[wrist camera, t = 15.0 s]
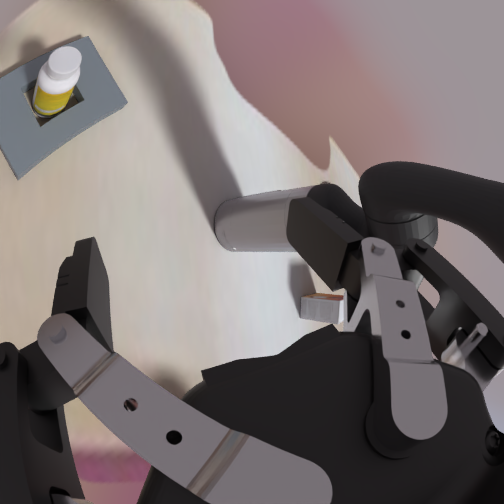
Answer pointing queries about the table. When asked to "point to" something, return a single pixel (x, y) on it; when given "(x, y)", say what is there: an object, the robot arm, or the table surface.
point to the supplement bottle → (56, 82)
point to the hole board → (62, 126)
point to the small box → (323, 308)
